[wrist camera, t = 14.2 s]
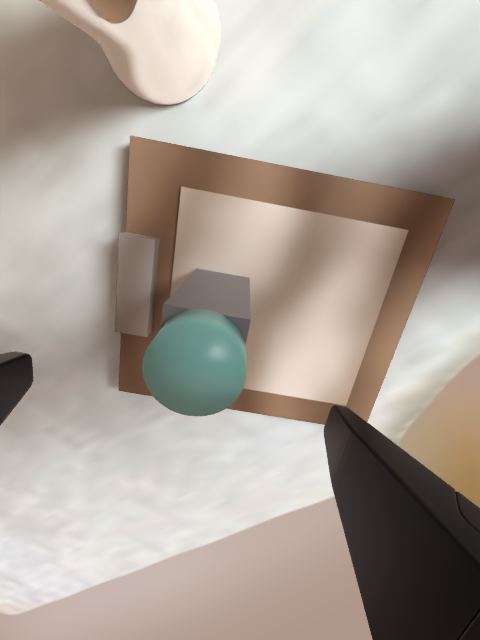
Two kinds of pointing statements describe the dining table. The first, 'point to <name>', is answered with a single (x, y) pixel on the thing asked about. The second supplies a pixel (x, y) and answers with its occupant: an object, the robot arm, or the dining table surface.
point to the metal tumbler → (152, 42)
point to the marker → (201, 345)
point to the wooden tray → (277, 270)
